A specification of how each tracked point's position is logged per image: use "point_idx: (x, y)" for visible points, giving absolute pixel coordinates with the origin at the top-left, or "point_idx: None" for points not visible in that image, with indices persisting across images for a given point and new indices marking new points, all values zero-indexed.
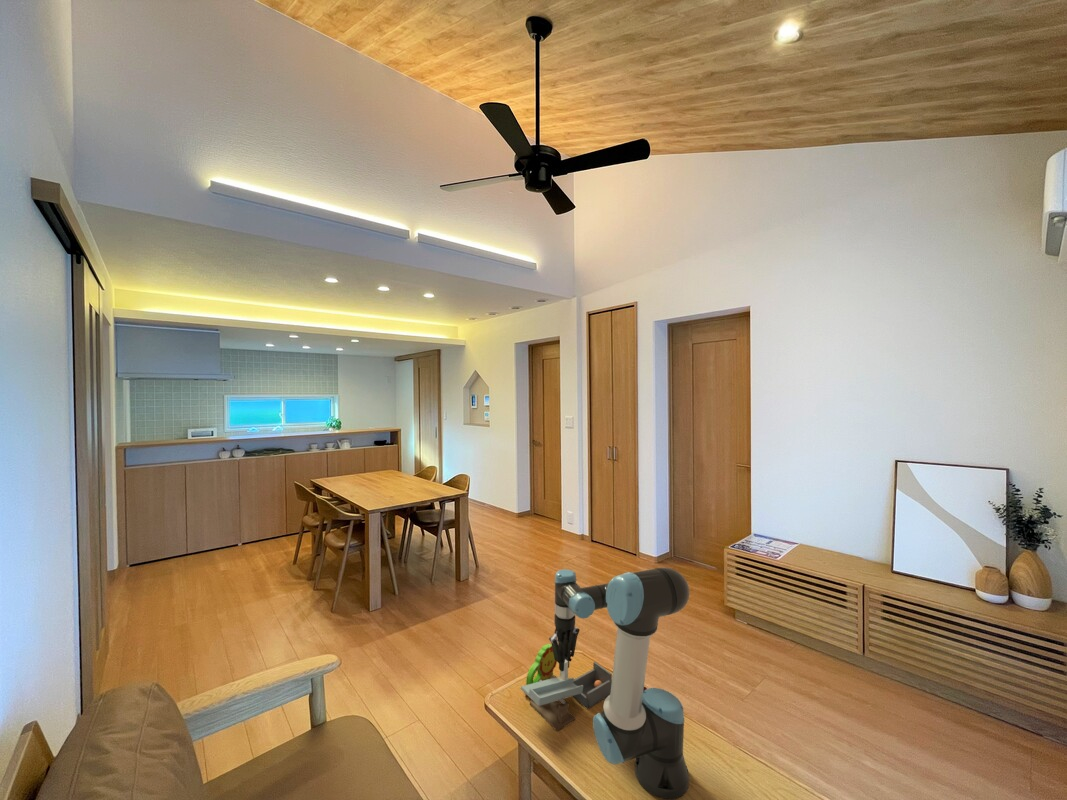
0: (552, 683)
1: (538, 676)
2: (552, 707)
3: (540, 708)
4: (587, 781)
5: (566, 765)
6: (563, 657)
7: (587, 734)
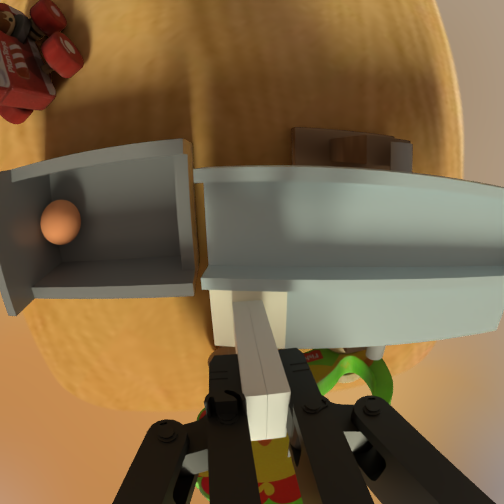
0: (412, 284)
1: (319, 390)
2: None
3: None
4: None
5: (428, 35)
6: (332, 442)
7: (298, 44)
